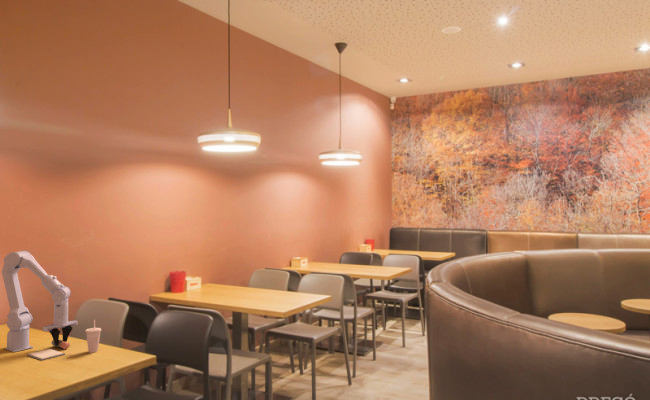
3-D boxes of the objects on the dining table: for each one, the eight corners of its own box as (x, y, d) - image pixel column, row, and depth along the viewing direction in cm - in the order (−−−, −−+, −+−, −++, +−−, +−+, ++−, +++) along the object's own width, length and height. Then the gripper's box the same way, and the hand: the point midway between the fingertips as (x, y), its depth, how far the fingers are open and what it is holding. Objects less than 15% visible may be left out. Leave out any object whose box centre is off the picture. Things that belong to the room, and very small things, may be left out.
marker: (51, 346, 207) (51, 339, 207) (58, 344, 210) (58, 338, 210) (62, 349, 202) (62, 343, 202) (69, 348, 204) (69, 341, 204)
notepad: (26, 355, 195) (26, 353, 195) (50, 349, 203) (50, 348, 203) (41, 360, 187) (41, 359, 187) (65, 354, 195) (65, 353, 196)
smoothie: (94, 353, 196) (94, 321, 197) (81, 353, 198) (82, 320, 198) (104, 349, 203) (104, 318, 203) (91, 348, 204) (92, 317, 204)
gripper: (48, 318, 198) (48, 349, 198) (81, 312, 210) (81, 341, 210) (40, 316, 202) (40, 346, 201) (73, 310, 214) (73, 339, 214)
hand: (60, 344), depth 206 cm, fingers closed on marker, 3 cm apart
